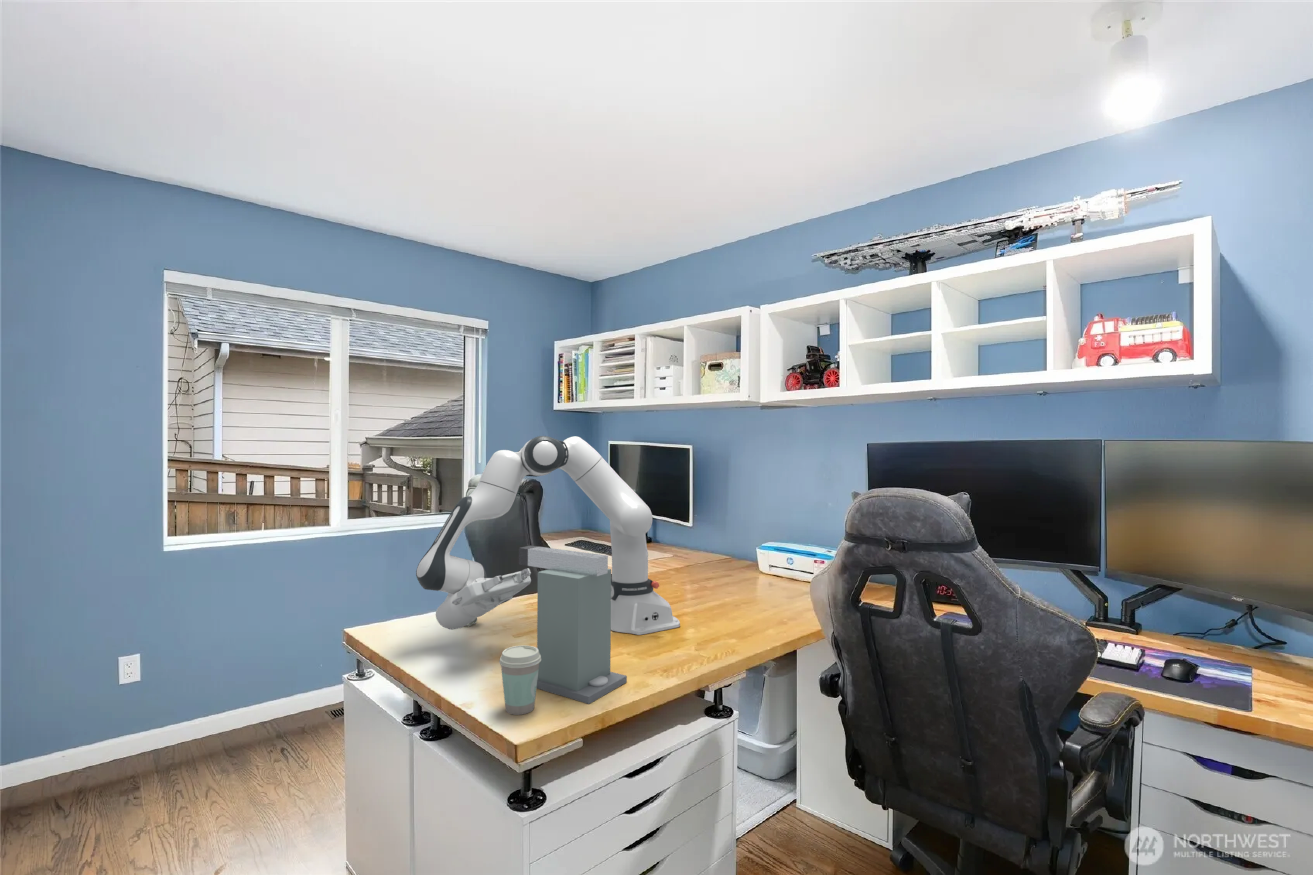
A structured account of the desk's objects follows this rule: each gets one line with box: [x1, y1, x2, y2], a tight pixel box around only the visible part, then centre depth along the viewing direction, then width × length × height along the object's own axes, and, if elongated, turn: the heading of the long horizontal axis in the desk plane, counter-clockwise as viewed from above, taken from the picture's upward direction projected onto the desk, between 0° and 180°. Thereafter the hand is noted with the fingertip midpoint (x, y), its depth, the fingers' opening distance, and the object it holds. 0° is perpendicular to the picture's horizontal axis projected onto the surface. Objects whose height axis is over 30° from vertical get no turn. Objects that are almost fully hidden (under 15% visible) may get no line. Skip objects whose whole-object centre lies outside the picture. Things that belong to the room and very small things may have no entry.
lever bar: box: [518, 545, 609, 576], centre depth 142 cm, size 24×4×4 cm, turn 58°
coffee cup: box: [498, 644, 541, 716], centre depth 126 cm, size 8×8×12 cm
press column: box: [536, 568, 628, 705], centre depth 139 cm, size 16×14×26 cm
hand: (514, 574), depth 150 cm, fingers open, 8 cm apart
